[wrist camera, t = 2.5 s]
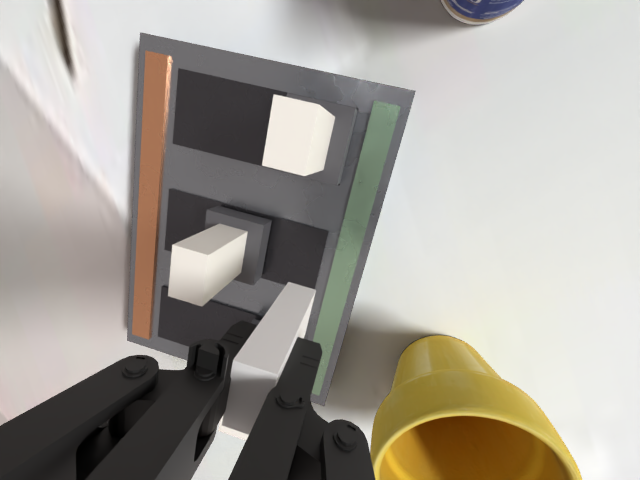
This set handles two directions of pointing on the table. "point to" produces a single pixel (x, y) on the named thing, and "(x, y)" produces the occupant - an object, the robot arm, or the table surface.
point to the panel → (250, 192)
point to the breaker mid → (218, 255)
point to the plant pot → (462, 422)
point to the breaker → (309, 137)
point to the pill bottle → (480, 10)
